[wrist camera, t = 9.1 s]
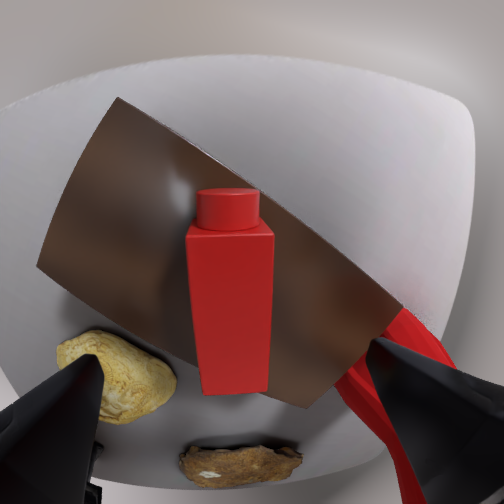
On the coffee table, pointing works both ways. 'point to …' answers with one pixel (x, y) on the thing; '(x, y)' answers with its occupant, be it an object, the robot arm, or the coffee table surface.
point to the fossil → (122, 375)
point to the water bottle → (368, 403)
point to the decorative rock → (238, 465)
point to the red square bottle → (231, 290)
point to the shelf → (175, 262)
